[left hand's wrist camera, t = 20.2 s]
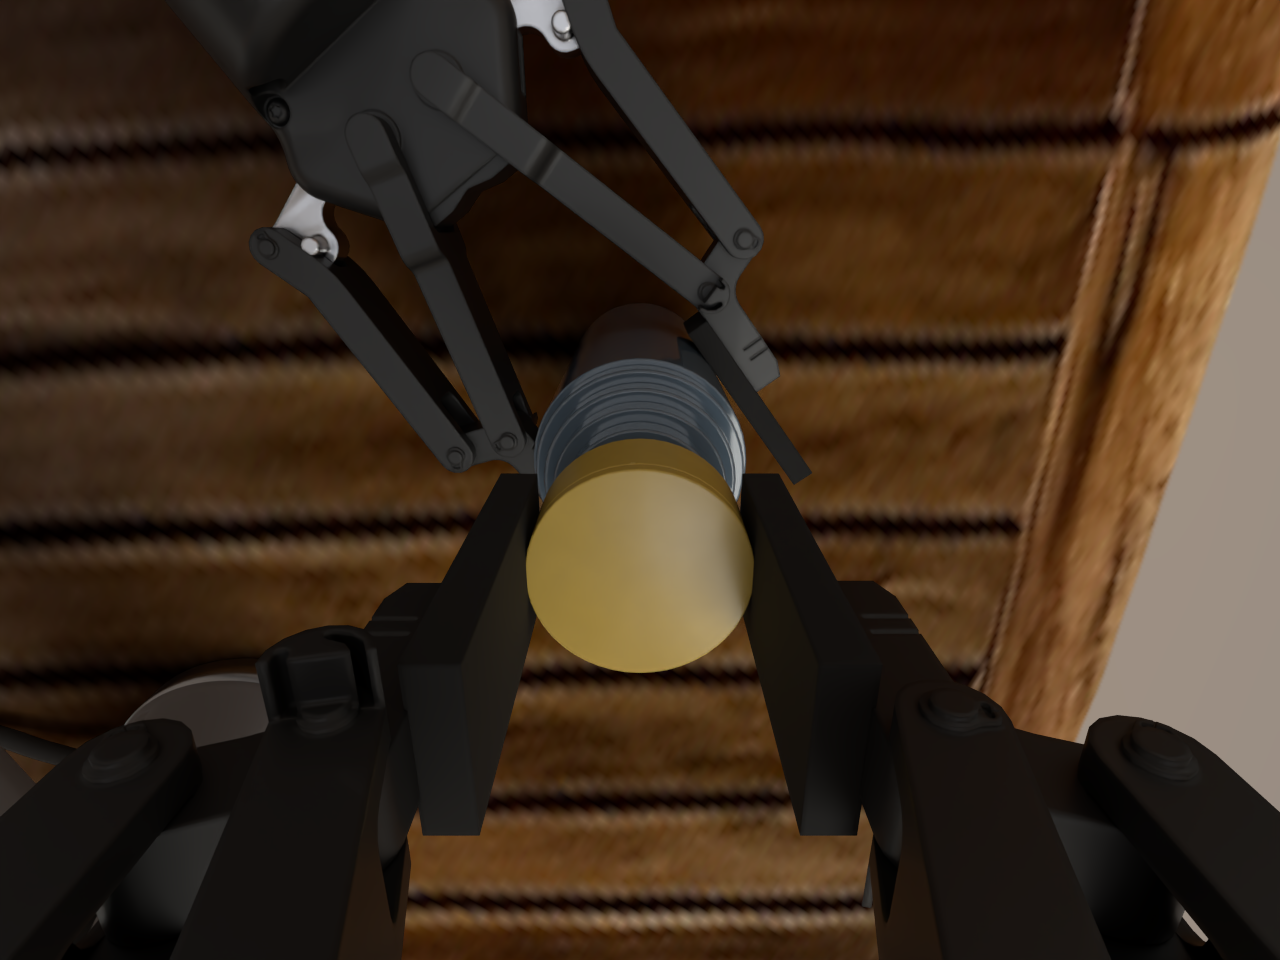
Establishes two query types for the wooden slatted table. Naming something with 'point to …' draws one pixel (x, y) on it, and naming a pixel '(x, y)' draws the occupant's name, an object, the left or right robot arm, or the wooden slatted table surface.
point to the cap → (639, 557)
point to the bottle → (639, 396)
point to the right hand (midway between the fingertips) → (720, 513)
